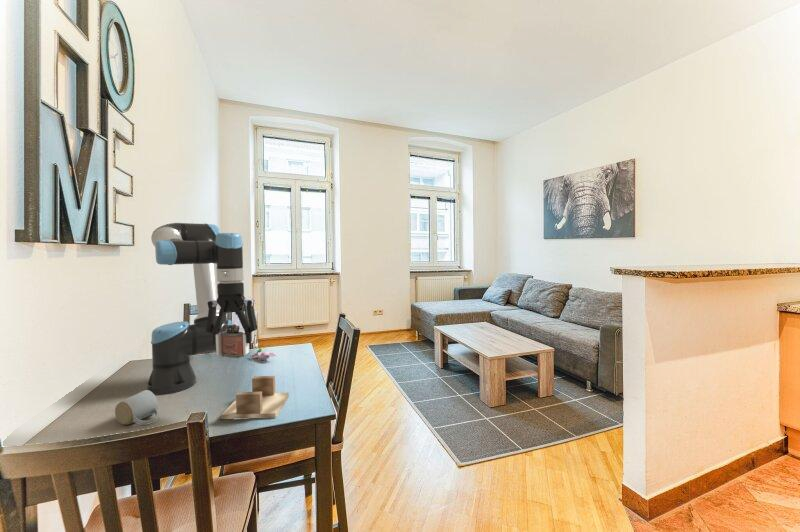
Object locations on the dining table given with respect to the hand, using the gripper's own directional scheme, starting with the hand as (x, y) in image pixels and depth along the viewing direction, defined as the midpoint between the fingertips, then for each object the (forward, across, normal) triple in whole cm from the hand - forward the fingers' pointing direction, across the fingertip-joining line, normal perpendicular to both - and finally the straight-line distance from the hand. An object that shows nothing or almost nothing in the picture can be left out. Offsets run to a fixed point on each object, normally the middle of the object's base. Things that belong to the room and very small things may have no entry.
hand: (233, 353), depth 109 cm
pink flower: (+17, -10, +50) cm, 54 cm away
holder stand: (+18, +7, +1) cm, 19 cm away
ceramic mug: (+18, -25, -6) cm, 32 cm away
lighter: (+1, 0, 0) cm, 1 cm away
